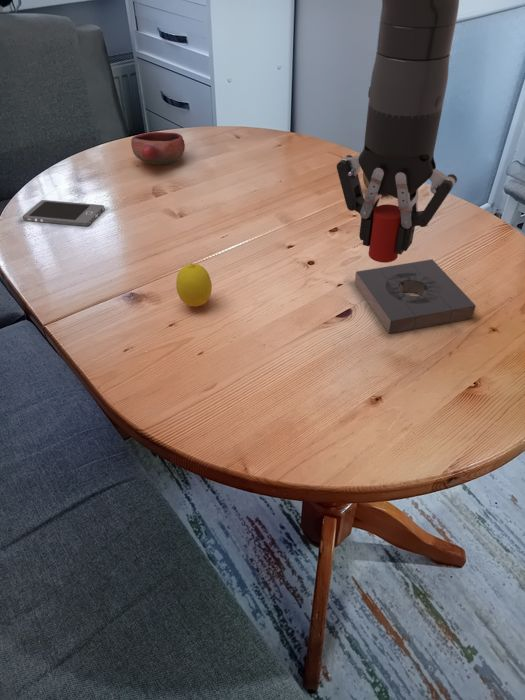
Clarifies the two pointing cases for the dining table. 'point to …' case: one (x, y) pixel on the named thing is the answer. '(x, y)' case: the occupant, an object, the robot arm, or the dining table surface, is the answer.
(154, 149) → the bowl
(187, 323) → the dining table surface
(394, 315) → the grey square base
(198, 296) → the lemon
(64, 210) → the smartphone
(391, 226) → the stopper
